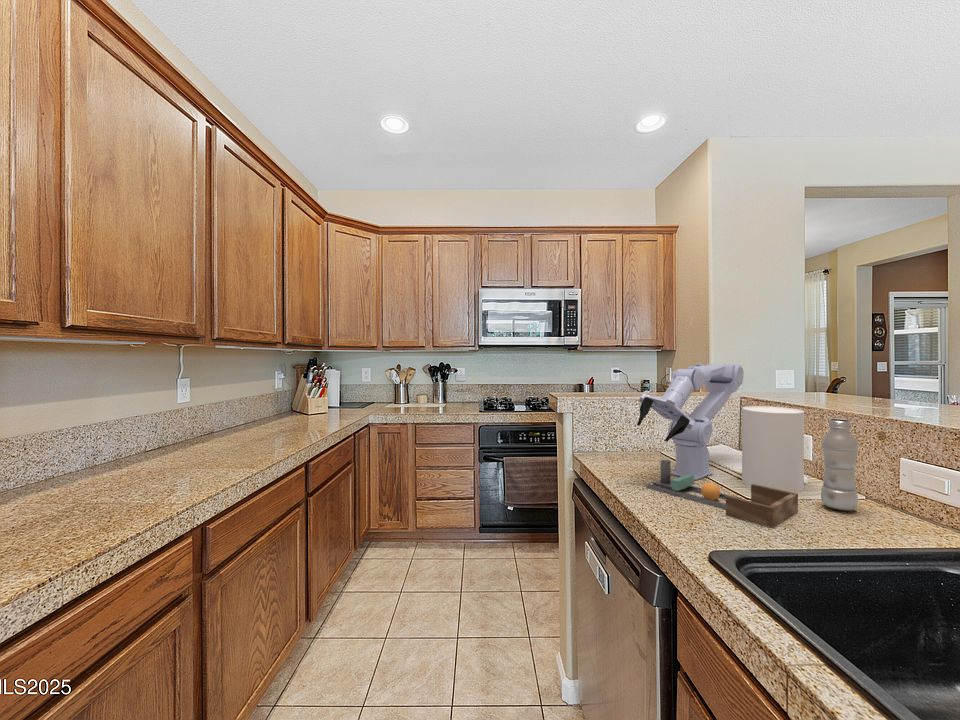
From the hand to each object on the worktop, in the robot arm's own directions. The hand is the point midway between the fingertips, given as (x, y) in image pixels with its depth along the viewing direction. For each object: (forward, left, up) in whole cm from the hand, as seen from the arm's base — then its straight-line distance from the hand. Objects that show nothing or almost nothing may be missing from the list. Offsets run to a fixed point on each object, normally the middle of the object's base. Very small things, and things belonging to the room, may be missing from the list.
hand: (652, 431), depth 111 cm
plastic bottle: (-20, +33, -15) cm, 42 cm away
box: (-4, +23, -15) cm, 28 cm away
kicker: (-4, +2, -15) cm, 16 cm away
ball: (-4, +13, -13) cm, 19 cm away
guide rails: (-4, +8, -15) cm, 18 cm away
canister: (-28, +17, -16) cm, 36 cm away
